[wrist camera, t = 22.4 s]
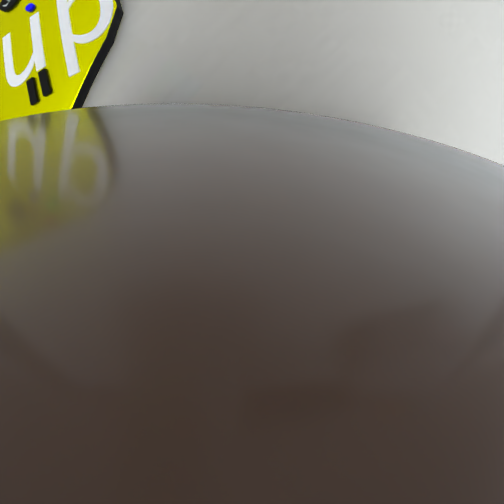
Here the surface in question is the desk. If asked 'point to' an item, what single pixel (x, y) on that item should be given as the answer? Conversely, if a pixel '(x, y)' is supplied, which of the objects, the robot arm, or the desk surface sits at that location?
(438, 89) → the desk surface
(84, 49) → the game console
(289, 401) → the lid
